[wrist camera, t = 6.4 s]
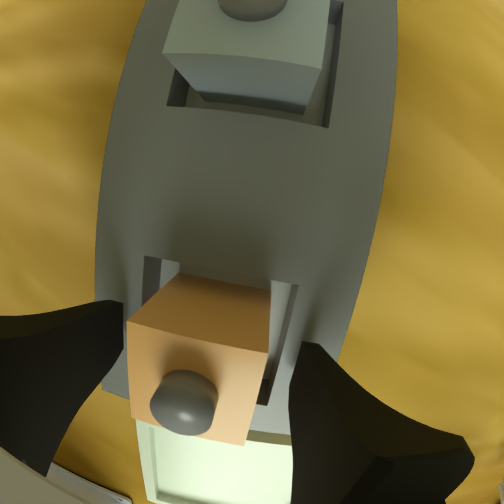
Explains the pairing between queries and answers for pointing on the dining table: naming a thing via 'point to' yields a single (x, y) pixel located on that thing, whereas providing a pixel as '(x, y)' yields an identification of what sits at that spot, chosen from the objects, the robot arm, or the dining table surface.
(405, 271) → the dining table surface
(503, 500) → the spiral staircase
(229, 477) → the tray
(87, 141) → the dining table surface
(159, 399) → the orange plug
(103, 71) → the dining table surface
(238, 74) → the seated twin plug
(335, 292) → the grey socket board
